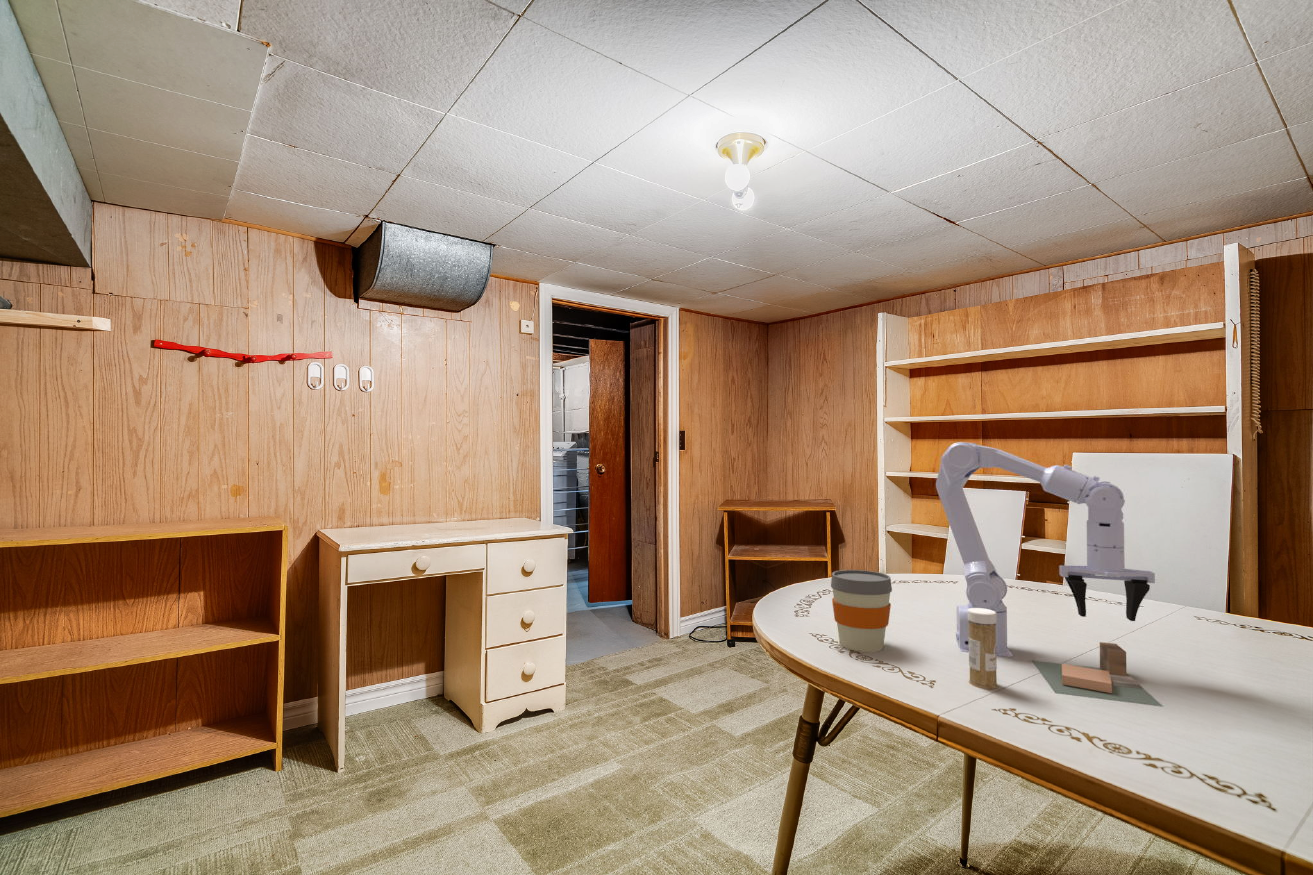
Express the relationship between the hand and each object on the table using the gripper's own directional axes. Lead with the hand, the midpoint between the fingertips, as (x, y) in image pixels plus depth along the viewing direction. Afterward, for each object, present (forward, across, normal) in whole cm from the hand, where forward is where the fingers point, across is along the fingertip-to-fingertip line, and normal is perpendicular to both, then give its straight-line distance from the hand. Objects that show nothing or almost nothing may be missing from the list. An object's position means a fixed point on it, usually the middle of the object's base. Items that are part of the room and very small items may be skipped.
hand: (1106, 617), depth 112 cm
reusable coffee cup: (+11, -44, 0) cm, 45 cm away
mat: (+10, -4, -8) cm, 14 cm away
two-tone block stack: (+10, 0, -4) cm, 11 cm away
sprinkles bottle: (+11, -23, -16) cm, 30 cm away
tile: (+9, -5, -6) cm, 12 cm away
